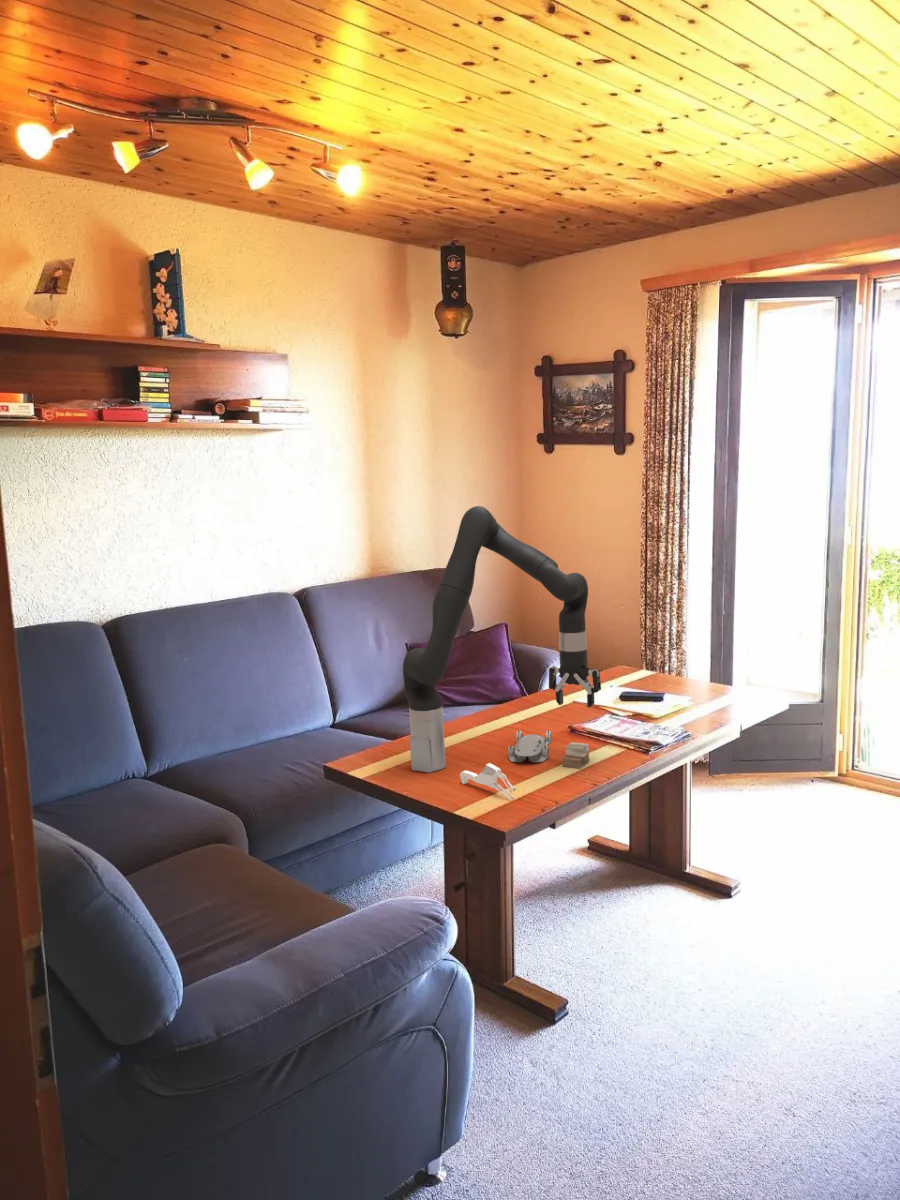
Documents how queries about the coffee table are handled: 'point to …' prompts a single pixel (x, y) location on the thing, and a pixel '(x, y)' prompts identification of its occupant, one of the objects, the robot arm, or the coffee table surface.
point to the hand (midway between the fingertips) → (575, 705)
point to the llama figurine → (488, 778)
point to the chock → (576, 755)
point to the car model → (530, 748)
